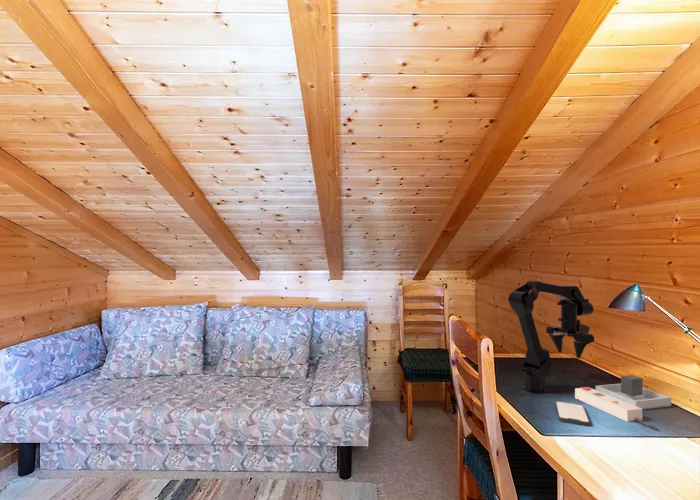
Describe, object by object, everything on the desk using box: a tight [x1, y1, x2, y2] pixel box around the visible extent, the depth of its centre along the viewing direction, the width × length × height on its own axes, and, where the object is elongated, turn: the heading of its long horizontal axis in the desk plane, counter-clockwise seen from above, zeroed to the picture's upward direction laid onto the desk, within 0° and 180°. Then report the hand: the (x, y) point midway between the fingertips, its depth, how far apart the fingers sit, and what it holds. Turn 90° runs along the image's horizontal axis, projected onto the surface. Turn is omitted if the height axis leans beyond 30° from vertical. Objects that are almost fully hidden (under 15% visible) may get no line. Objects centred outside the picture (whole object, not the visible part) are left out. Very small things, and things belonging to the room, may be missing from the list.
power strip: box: [574, 386, 659, 431], centre depth 125 cm, size 27×6×4 cm, turn 14°
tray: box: [595, 382, 672, 411], centre depth 136 cm, size 16×16×3 cm
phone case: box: [554, 401, 591, 427], centre depth 123 cm, size 9×2×16 cm
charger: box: [620, 374, 644, 399], centre depth 136 cm, size 4×5×8 cm
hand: (569, 355), depth 151 cm, fingers open, 9 cm apart
